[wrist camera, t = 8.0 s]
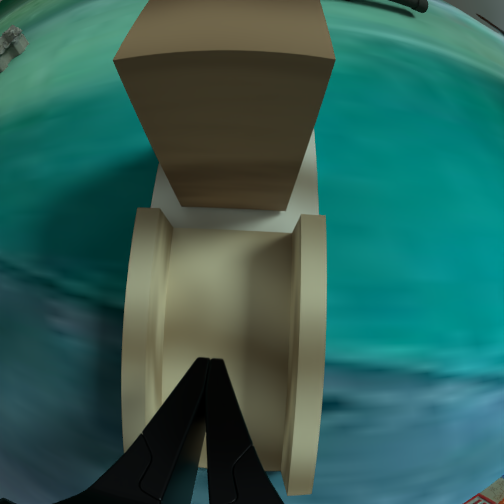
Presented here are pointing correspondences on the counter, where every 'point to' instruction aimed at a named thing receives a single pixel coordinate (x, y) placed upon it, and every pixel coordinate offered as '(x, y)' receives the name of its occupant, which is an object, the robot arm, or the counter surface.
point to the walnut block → (228, 94)
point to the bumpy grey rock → (11, 46)
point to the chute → (232, 316)
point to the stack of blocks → (490, 494)
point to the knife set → (414, 4)
